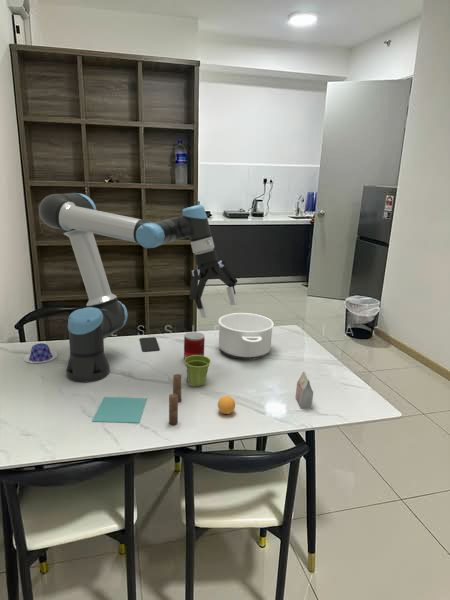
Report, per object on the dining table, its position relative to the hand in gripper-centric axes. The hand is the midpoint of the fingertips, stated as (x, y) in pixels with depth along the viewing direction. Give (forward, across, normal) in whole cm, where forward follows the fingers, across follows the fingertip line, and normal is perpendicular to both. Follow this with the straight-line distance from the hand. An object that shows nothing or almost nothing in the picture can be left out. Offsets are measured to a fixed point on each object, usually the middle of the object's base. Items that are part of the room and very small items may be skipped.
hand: (219, 310), depth 144 cm
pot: (+26, +21, +19) cm, 39 cm away
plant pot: (+24, -12, +8) cm, 28 cm away
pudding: (+5, -47, +58) cm, 75 cm away
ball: (+25, -16, -13) cm, 33 cm away
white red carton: (+35, +7, -22) cm, 42 cm away
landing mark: (+18, -41, +8) cm, 46 cm away
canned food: (+21, -2, +23) cm, 31 cm away
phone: (+15, -7, +47) cm, 49 cm away
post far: (+23, -24, +2) cm, 34 cm away
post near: (+24, -33, -7) cm, 41 cm away
